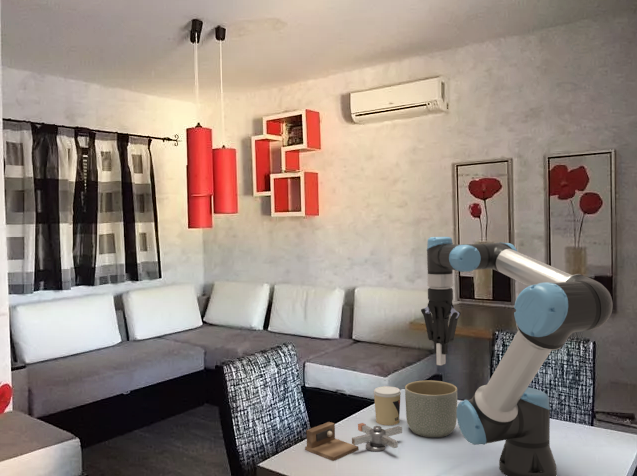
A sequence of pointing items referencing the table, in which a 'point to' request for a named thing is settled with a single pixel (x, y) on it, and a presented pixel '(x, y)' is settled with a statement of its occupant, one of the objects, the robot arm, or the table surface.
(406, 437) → the table surface
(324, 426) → the stand
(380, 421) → the coffee cup
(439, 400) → the planter
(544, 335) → the robot arm
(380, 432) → the silver cross-shaped piece
